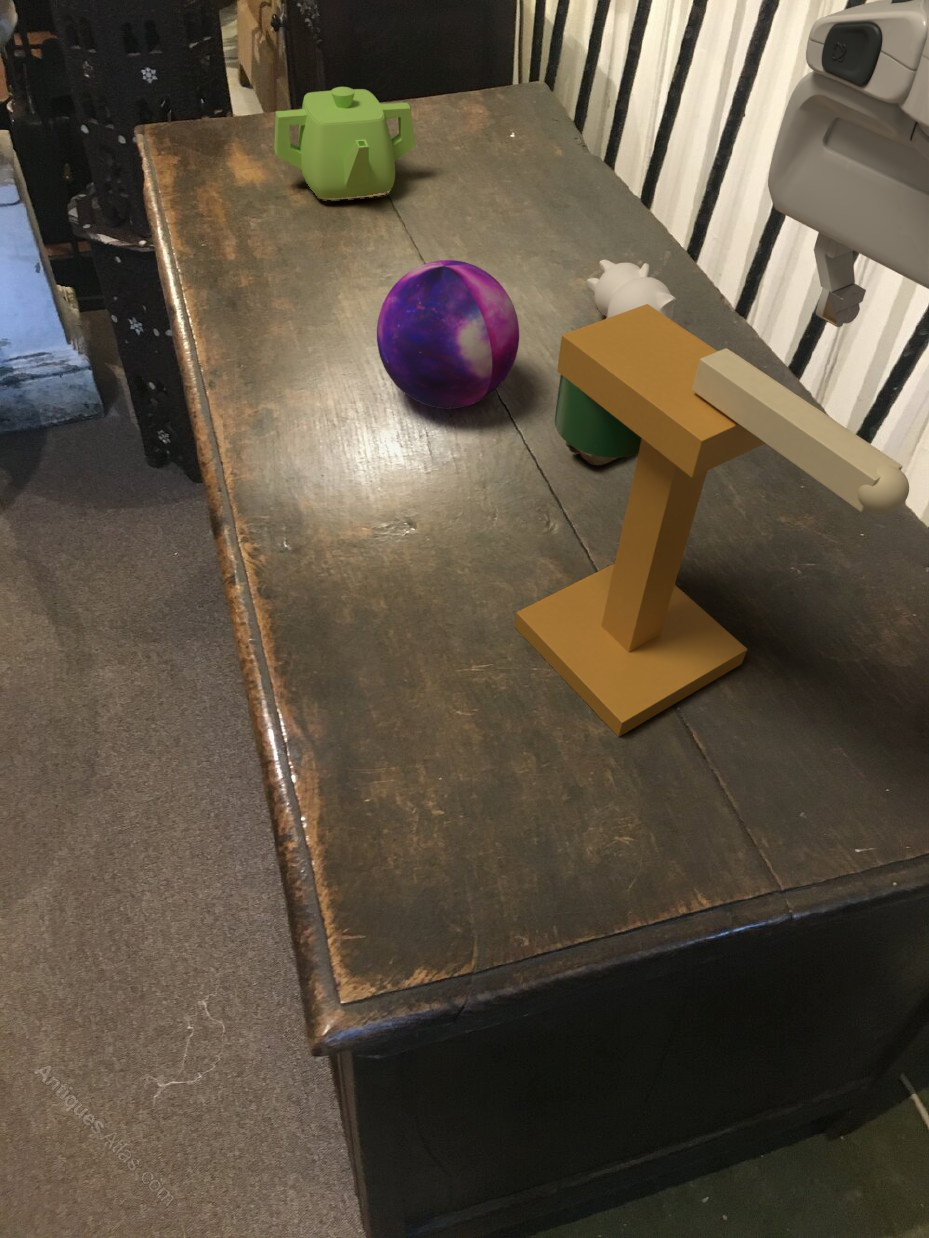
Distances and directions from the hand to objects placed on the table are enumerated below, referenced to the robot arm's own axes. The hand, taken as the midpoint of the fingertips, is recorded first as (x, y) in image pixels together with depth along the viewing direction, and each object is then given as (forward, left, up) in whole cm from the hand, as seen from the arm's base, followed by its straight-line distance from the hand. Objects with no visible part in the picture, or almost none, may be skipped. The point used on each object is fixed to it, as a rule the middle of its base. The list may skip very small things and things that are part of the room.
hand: (905, 359), depth 50 cm
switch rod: (+4, -2, -9) cm, 10 cm away
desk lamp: (+14, -6, -36) cm, 39 cm away
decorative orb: (+46, -25, -36) cm, 64 cm away
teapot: (+87, -57, -36) cm, 110 cm away
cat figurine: (+36, -50, -36) cm, 72 cm away
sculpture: (+26, -30, -36) cm, 54 cm away
